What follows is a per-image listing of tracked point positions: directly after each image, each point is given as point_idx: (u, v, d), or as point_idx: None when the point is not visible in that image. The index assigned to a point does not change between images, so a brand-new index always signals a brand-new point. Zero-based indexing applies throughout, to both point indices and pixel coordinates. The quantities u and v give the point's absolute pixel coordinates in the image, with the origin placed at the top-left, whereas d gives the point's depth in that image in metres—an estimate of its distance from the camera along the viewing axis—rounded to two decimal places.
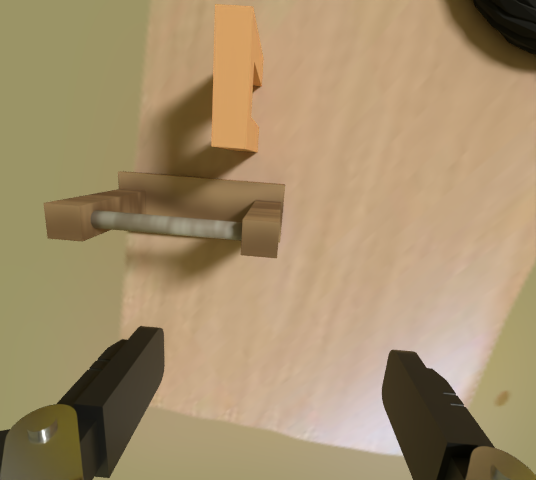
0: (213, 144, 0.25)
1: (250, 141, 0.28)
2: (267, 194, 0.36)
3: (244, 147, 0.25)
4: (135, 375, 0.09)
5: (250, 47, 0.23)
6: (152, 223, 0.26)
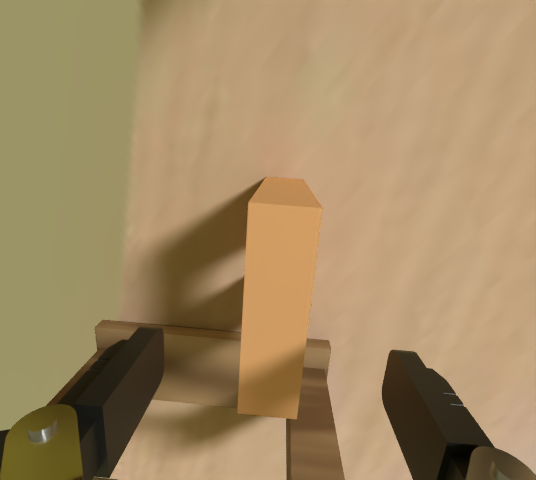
0: (240, 410, 0.14)
1: None
2: (306, 359, 0.26)
3: (295, 417, 0.14)
4: (135, 375, 0.09)
5: (313, 271, 0.12)
6: None
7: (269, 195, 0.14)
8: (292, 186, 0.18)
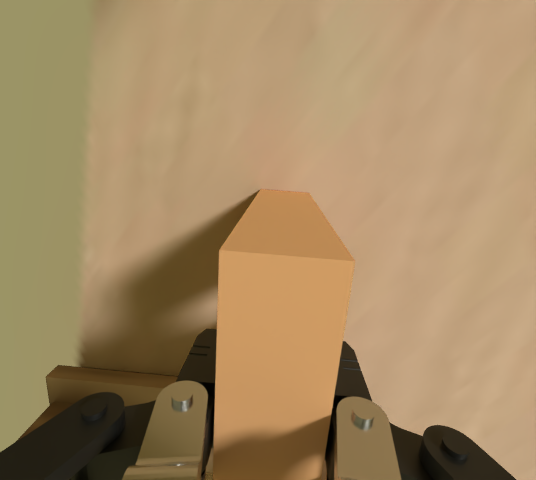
0: None
1: None
2: None
3: None
4: None
5: (335, 366, 0.07)
6: None
7: (260, 228, 0.08)
8: (295, 205, 0.13)
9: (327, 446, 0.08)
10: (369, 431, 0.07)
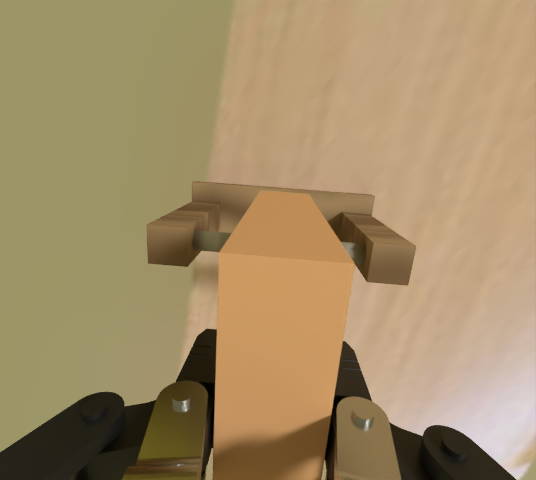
0: None
1: None
2: (355, 206, 0.33)
3: None
4: None
5: None
6: None
7: (260, 229, 0.08)
8: (295, 207, 0.13)
9: (327, 446, 0.08)
10: (369, 431, 0.07)
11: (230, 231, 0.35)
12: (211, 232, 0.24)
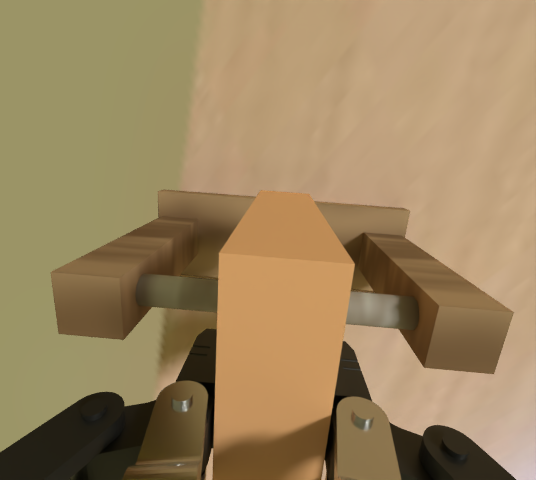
0: None
1: None
2: (382, 224, 0.24)
3: None
4: None
5: None
6: None
7: (260, 230, 0.08)
8: (295, 207, 0.13)
9: (327, 446, 0.08)
10: (369, 431, 0.07)
11: (211, 257, 0.26)
12: (167, 278, 0.15)
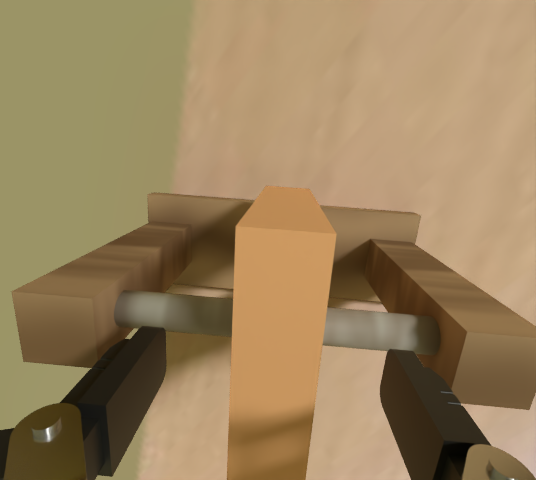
0: None
1: None
2: (390, 230, 0.22)
3: None
4: (138, 374, 0.09)
5: (323, 316, 0.09)
6: None
7: (266, 213, 0.11)
8: (296, 198, 0.15)
9: None
10: None
11: (206, 265, 0.24)
12: (151, 296, 0.13)
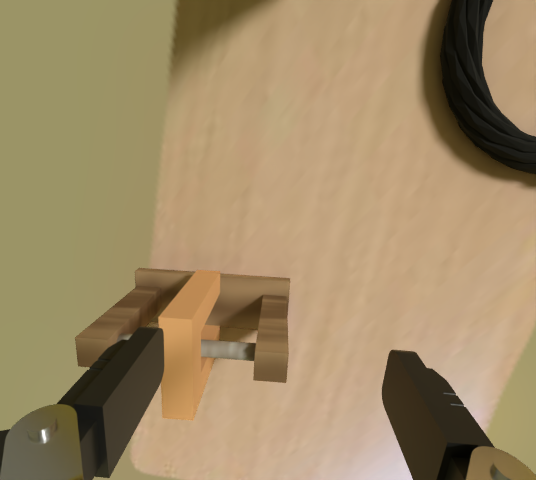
0: (164, 416, 0.28)
1: (202, 386, 0.31)
2: (274, 289, 0.39)
3: (192, 419, 0.27)
4: (135, 375, 0.09)
5: (192, 346, 0.26)
6: None
7: (175, 305, 0.27)
8: (201, 287, 0.32)
9: None
10: None
11: None
12: None
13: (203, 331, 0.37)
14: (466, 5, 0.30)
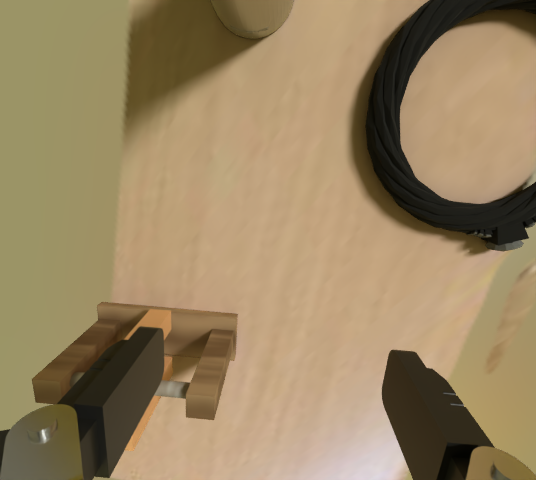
0: None
1: (147, 417, 0.35)
2: (222, 325, 0.43)
3: (132, 450, 0.32)
4: (135, 375, 0.09)
5: None
6: None
7: None
8: None
9: None
10: None
11: None
12: None
13: None
14: (383, 87, 0.33)
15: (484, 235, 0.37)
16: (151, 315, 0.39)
